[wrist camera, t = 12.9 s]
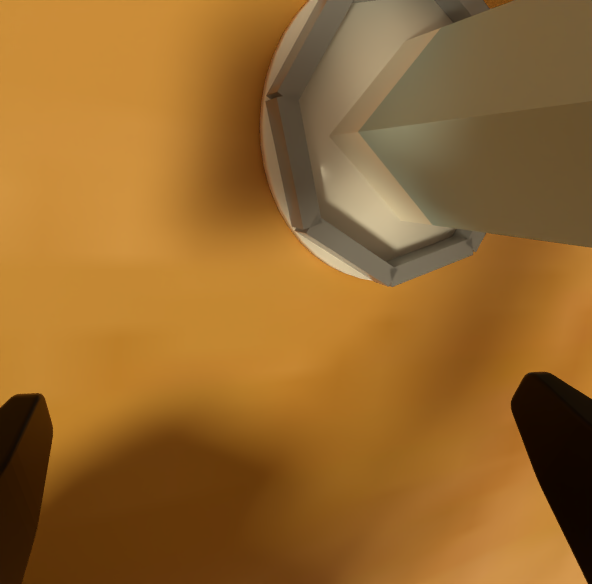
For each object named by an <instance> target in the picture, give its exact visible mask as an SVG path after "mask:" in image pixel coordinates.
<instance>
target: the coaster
mask: <svg viewBox="0 0 592 584" xmlns="http://www.w3.org/2000/svg"><path fill="white" fill-rule="evenodd" d="M487 10H490V9H489V7H488V6H487V5H486V3H485V2H484V1H483V0H308V1H307V2H306V3H305V4H304V5H303V7H302V8H301V9H300V10H299V11H298V12H297V14H296V15H295V16H294V17H293V19H292V20H291V22H290V24H289V25H288V27H287V28H286V30H285V31H284V33H283V35H282V37H281V39H280V41H279V43H278V45H277V47H276V49H275V52H274V54H273V56H272V59H271V62H270V65H269V69H268V72H267V75H266V78H265V83H264V89H263V94H262V99H261V111H260V145H261V153H262V159H263V165H264V170H265V174H266V177H267V181H268V184H269V188H270V191H271V193H272V196H273V198H274V201H275V203H276V205H277V208H278V210H279V212H280V213H281V215H282V217H283V219H284V220H285V222H286V224H287V225H288V227H289V228H290V230H291V231H292V232H293V234H294V235H295V236H296V237H297V239H298V240H299V241H300V242H301V243H302V244H303V245H304V246H305V247H306V248H307V249H308V250H309V251H310V252H311V253H312V254H313V255H314V256H316V257H317V258H318V259H320V260H321V261H323V262H324V263H325V264H327V265H329V266H331V267H333V268H335V269H336V270H338V271H340V272H343V273H346V274H349V275H352V276H355V277H358V278H361V279H366V280H373V281H374V282H377V283H379V284H382V285H385V286H388V287H389V286H391V287H393V286H396V285H398V284H401V283H403V282H406V281H408V280H411V279H413V278H416V277H418V276H421V275H423V274H426V273H428V272H431V271H433V270H436V269H438V268H441V267H443V266H446V265H449V264H451V263H454V262H456V261H459V260H461V259H464V258H466V257H469V256H471V255H473V252H476V251H477V249H478V247H479V245H480V243H481V242H482V240H483V238H484V236H485V234H486V233H484V232H477V231H470V230H463V229H456V228H449V227H442V226H435V225H427V224H420V223H413V222H406V221H401V220H400V219H399V218H398V217H397V216H396V214H395V213H394V212H393V211H392V210H391V208H390V207H389V206H388V205H387V204H386V203H385V201H384V200H383V199H382V198H381V197H380V195H379V194H378V193H377V192H376V191H375V190H374V188H373V187H372V186H371V185H370V184H369V182H368V181H367V180H366V179H365V178H364V177H363V175H362V174H361V173H360V172H359V171H358V170H357V168H356V167H355V166H354V165H353V164H352V162H351V161H350V160H349V159H348V158H347V157H346V155H345V154H344V153H343V152H342V151H341V149H340V148H339V147H338V146H337V145H336V144H335V142H334V141H333V140H332V139H331V138H330V136H329V135H330V134H331V133H332V131H333V130H334V129H335V128H336V126H337V125H338V124H339V123H340V121H341V120H342V119H343V118H344V117H345V115H346V114H347V113H348V112H349V110H350V109H351V108H352V107H353V105H354V104H355V103H356V102H357V100H358V99H359V98H360V97H361V95H362V94H363V93H364V92H365V90H366V89H367V88H368V87H369V85H370V84H371V83H372V82H373V80H374V79H375V78H376V77H377V75H378V74H379V73H380V72H381V71H382V69H383V68H384V67H385V66H386V64H387V63H388V62H389V61H390V59H391V58H392V57H393V56H394V54H395V53H396V52H397V51H398V49H399V48H400V47H401V46H402V44H403V43H404V42H405V41H407V40H409V39H412V38H415V37H418V36H420V35H423V34H426V33H428V32H431V31H434V30H436V29H439V28H442V27H444V26H447V25H450V24H452V23H455V22H458V21H460V20H463V19H466V18H468V17H471V16H474V15H476V14H479V13H482V12H484V11H487Z"/></svg>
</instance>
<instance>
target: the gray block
mask: <svg viewBox="0 0 592 584" xmlns="http://www.w3.org/2000/svg"><path fill="white" fill-rule="evenodd" d="M329 136H330V138H331V139H332V140H333V141H334V142H335V144H336V145H337V146H338V147H339V148H340V149H341V151H342V152H343V153H344V154H345V155H346V157H347V158H348V159H349V160H350V161H351V162H352V164H353V165H354V166H355V167H356V168H357V170H358V171H359V172H360V173H361V174H362V175H363V177H364V178H365V179H366V180H367V181H368V182H369V184H370V185H371V186H372V187H373V188H374V190H375V191H376V192H377V193H378V194H379V195H380V197H381V198H382V199H383V200H384V201H385V203H386V204H387V205H388V206H389V207H390V208H391V210H392V211H393V212H394V213H395V214H396V216H397V217H398V218H399V219H400V220H401V221H406V222H413V223H420V224H427V225H435V226H442V227H449V228H456V229H463V230H470V231H477V232H484V233H491V234H498V235H506V236H513V237H520V238H527V239H534V240H541V241H548V242H555V243H562V244H569V245H577V246H584V247H591V248H592V0H514V1H511V2H508V3H506V4H503V5H500V6H498V7H495V8H492V9H490V10H487V11H484V12H482V13H479V14H476V15H474V16H471V17H468V18H466V19H463V20H460V21H458V22H455V23H452V24H450V25H447V26H444V27H442V28H439V29H436V30H434V31H431V32H428V33H426V34H423V35H420V36H418V37H415V38H412V39H409V40H407V41H405V42H404V43H403V44H402V46H401V47H400V48H399V49H398V51H397V52H396V53H395V54H394V56H393V57H392V58H391V59H390V61H389V62H388V63H387V64H386V66H385V67H384V68H383V69H382V71H381V72H380V73H379V74H378V75H377V77H376V78H375V79H374V80H373V82H372V83H371V84H370V85H369V87H368V88H367V89H366V90H365V92H364V93H363V94H362V95H361V97H360V98H359V99H358V100H357V102H356V103H355V104H354V105H353V107H352V108H351V109H350V110H349V112H348V113H347V114H346V115H345V117H344V118H343V119H342V120H341V121H340V123H339V124H338V125H337V126H336V128H335V129H334V130H333V131H332V133H331V134H330V135H329Z"/></svg>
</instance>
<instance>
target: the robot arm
mask: <svg viewBox="0 0 592 584" xmlns="http://www.w3.org/2000/svg"><path fill="white" fill-rule="evenodd" d="M511 410H512V413H513V416H514V419H515V421H516V424H517V427H518V429H519V432H520V435H521V437H522V440H523V443H524V445H525V448H526V451H527V453H528V456H529V459H530V461H531V464H532V467H533V469H534V472H535V474H536V477H537V479H538V482H539V484H540V486H541V488H542V490H543V493H544V495H545V497H546V499H547V501H548V503H549V505H550V507H551V509H552V511H553V513H554V515H555V517H556V519H557V521H558V523H559V525H560V527H561V529H562V531H563V534H564V536H565V538H566V540H567V542H568V544H569V546H570V548H571V550H572V552H573V554H574V556H575V558H576V560H577V562H578V564H579V566H580V568H581V570H582V572H583V575H584V577H585V579H586V581H587V583H588V584H592V399H591V398H589V397H587V396H586V395H584V394H583V393H581V392H579V391H578V390H576V389H575V388H573V387H572V386H570V385H568V384H567V383H565V382H564V381H562V380H560V379H559V378H557V377H556V376H554V375H552V374H551V373H548V372H531V373H528V374H526V375H525V376H524V378H523V380H522V381H521V383H520V385H519V387H518V388H517V390H516V392H515V394H514V396H513V397H512V400H511ZM52 438H53V426H52V422H51V418H50V415H49V411H48V408H47V404H46V401H45V398H44V396H43V395H42V394H39V393H31V394H17V395H14V396H13V397H11V398H10V399H9V400H8V401H7V402H6V403H5V404H4V405H3V406H2V407H1V408H0V584H21V583H22V580H23V576H24V573H25V569H26V566H27V563H28V559H29V556H30V552H31V549H32V545H33V542H34V538H35V534H36V530H37V526H38V520H39V515H40V509H41V503H42V497H43V492H44V486H45V480H46V474H47V468H48V462H49V456H50V450H51V444H52Z"/></svg>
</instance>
